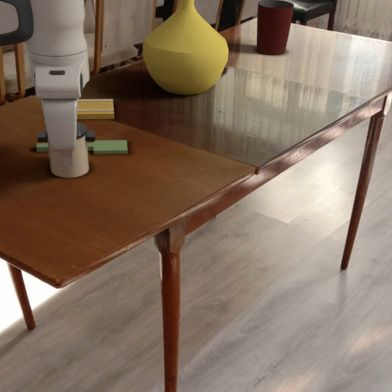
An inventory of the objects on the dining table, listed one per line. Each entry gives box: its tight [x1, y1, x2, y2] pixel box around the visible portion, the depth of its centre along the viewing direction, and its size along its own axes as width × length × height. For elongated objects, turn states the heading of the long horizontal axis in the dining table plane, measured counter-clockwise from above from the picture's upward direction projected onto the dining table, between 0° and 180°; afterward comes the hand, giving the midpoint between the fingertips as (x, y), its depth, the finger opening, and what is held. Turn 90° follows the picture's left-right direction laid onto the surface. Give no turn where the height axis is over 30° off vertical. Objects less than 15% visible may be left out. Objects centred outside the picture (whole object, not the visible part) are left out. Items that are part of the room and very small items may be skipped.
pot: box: [36, 121, 96, 179], centre depth 104 cm, size 9×7×8 cm
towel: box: [77, 98, 115, 120], centre depth 125 cm, size 12×8×1 cm, turn 97°
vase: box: [142, 0, 229, 96], centre depth 133 cm, size 18×18×19 cm
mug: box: [256, 0, 295, 56], centre depth 159 cm, size 12×9×11 cm
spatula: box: [35, 139, 129, 155], centre depth 112 cm, size 16×4×1 cm, turn 97°
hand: (68, 154), depth 105 cm, fingers closed on pot, 6 cm apart
